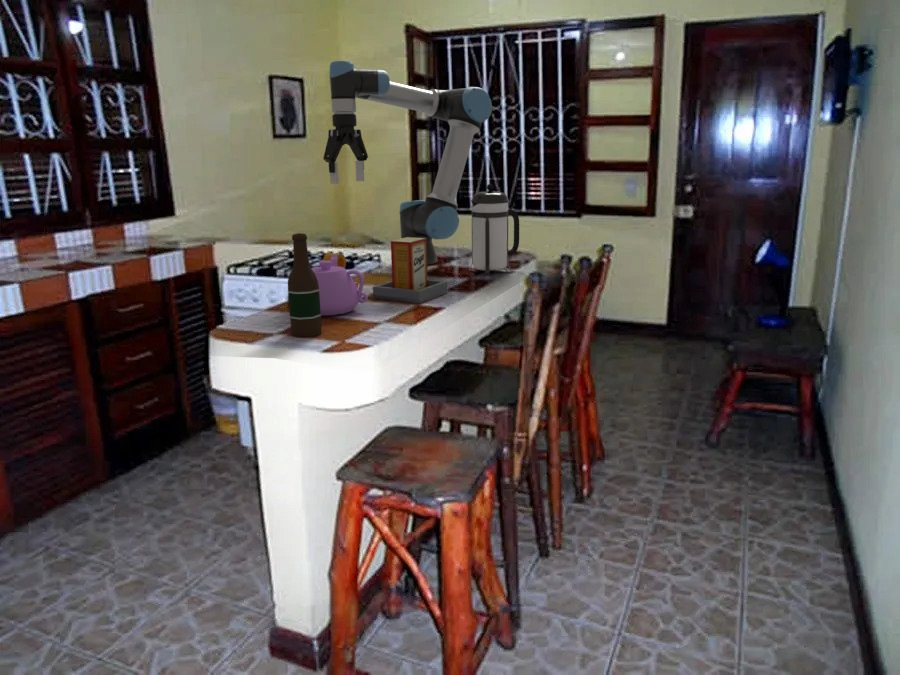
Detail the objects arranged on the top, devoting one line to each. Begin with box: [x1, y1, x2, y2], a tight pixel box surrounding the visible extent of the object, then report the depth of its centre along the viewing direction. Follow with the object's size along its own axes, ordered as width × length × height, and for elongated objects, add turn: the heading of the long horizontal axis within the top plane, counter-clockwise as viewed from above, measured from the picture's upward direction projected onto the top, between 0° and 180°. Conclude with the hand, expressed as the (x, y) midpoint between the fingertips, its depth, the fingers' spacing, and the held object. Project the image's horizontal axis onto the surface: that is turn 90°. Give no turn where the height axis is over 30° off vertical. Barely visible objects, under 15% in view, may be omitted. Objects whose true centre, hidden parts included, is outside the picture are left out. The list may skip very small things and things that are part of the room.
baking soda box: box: [390, 237, 428, 290], centre depth 206 cm, size 10×6×16 cm
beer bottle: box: [287, 232, 323, 338], centre depth 165 cm, size 8×8×24 cm
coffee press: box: [468, 183, 520, 276], centre depth 240 cm, size 17×16×30 cm
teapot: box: [286, 255, 369, 316], centre depth 191 cm, size 22×22×14 cm
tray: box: [372, 279, 448, 305], centre depth 208 cm, size 16×16×4 cm
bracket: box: [322, 252, 359, 289], centre depth 212 cm, size 11×7×12 cm, turn 153°
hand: (347, 182), depth 226 cm, fingers open, 13 cm apart
